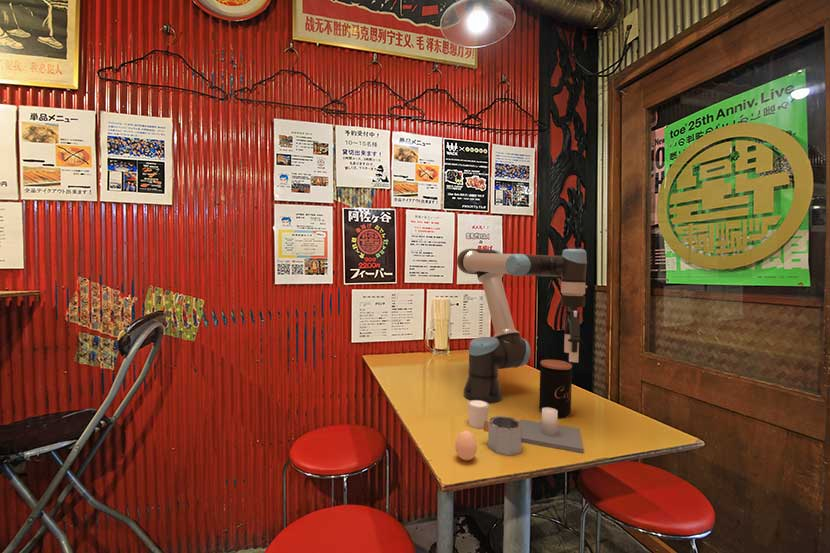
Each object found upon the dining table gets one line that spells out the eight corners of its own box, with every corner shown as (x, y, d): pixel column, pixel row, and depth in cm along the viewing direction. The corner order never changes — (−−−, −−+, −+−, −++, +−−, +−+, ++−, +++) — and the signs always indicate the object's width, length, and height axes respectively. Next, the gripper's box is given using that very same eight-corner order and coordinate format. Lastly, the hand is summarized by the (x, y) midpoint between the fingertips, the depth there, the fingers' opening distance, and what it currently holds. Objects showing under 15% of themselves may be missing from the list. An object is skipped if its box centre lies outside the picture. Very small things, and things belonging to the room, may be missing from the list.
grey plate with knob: (516, 441, 106) (517, 413, 106) (520, 422, 119) (520, 398, 119) (583, 453, 100) (584, 424, 100) (579, 432, 113) (579, 406, 113)
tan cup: (465, 420, 120) (465, 399, 120) (485, 419, 121) (485, 399, 121) (470, 429, 113) (470, 407, 113) (491, 428, 114) (491, 407, 114)
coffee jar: (556, 421, 121) (557, 368, 121) (532, 409, 131) (534, 361, 130) (577, 415, 126) (578, 365, 126) (553, 405, 136) (554, 358, 135)
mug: (481, 450, 100) (481, 425, 100) (486, 436, 109) (486, 413, 109) (519, 457, 97) (520, 432, 96) (522, 442, 105) (522, 419, 105)
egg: (452, 462, 94) (453, 433, 93) (457, 452, 99) (458, 425, 99) (474, 467, 91) (475, 437, 91) (478, 456, 97) (479, 428, 97)
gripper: (592, 298, 107) (589, 367, 108) (579, 293, 131) (577, 350, 132) (565, 296, 109) (562, 365, 110) (557, 292, 133) (555, 348, 134)
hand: (570, 357), depth 121 cm, fingers open, 13 cm apart
